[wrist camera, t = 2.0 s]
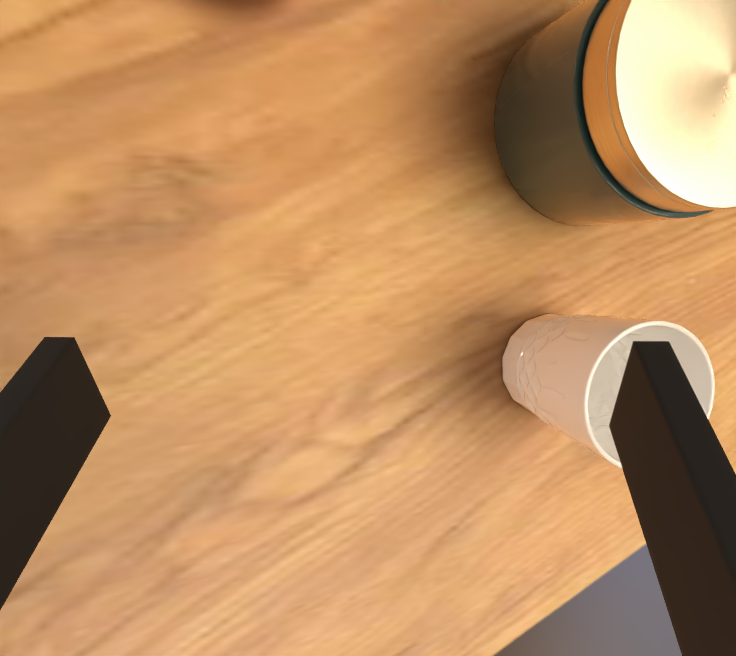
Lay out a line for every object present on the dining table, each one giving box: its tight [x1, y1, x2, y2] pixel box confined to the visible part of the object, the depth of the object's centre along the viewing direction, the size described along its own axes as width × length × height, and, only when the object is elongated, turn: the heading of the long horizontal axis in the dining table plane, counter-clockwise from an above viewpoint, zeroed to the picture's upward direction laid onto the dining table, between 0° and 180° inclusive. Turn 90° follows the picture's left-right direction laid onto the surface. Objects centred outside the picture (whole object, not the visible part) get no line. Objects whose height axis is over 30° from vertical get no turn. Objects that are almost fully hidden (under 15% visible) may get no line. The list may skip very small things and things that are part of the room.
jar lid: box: [582, 0, 736, 212], centre depth 29 cm, size 12×12×2 cm
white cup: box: [502, 314, 715, 469], centre depth 35 cm, size 8×8×10 cm
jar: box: [494, 0, 713, 226], centre depth 33 cm, size 13×13×10 cm
